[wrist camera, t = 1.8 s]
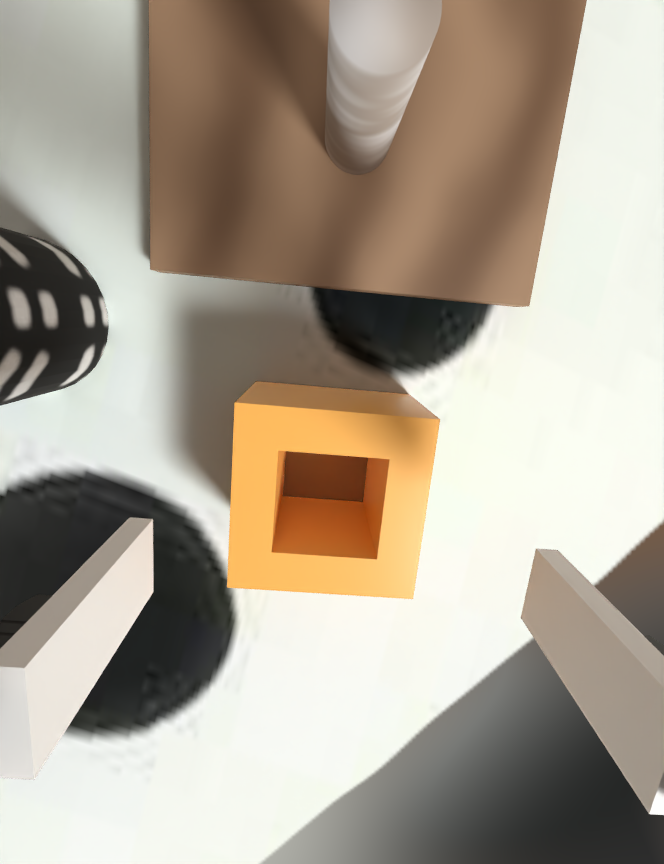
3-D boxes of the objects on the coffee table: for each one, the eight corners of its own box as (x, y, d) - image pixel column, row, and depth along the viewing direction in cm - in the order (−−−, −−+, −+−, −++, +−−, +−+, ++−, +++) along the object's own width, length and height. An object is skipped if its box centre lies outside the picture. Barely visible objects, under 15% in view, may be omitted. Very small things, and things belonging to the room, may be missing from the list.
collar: (249, 523, 28) (227, 587, 22) (256, 381, 26) (234, 402, 19) (390, 533, 29) (412, 599, 22) (408, 394, 27) (440, 419, 20)
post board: (160, 272, 25) (38, 235, 14) (160, -40, 21) (0, -403, 11) (517, 306, 26) (659, 297, 15) (570, 14, 22) (802, -267, 12)
